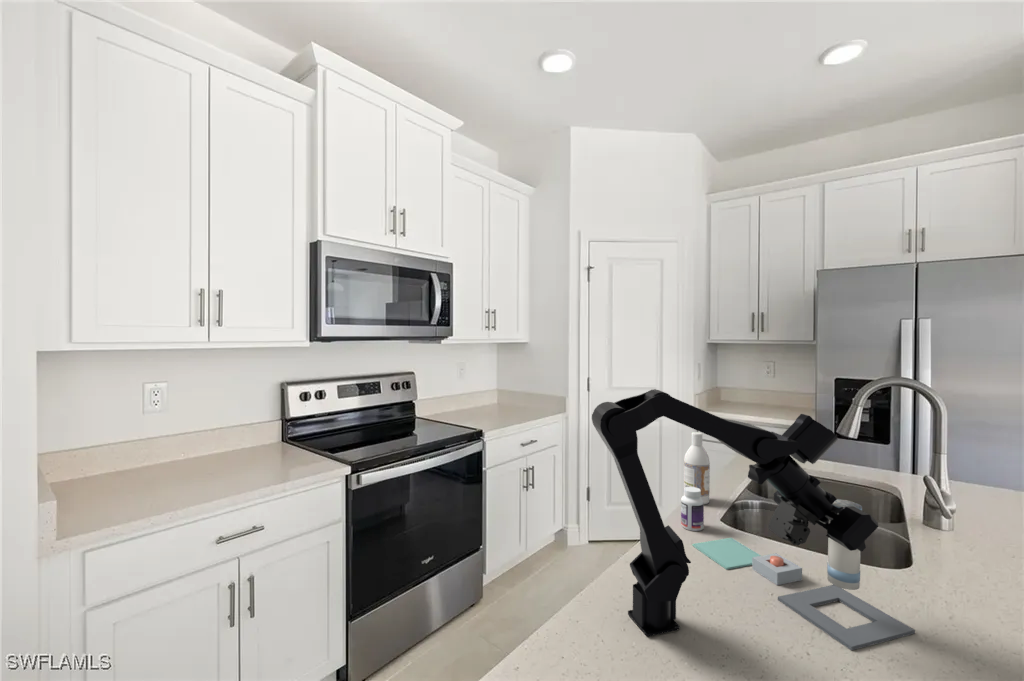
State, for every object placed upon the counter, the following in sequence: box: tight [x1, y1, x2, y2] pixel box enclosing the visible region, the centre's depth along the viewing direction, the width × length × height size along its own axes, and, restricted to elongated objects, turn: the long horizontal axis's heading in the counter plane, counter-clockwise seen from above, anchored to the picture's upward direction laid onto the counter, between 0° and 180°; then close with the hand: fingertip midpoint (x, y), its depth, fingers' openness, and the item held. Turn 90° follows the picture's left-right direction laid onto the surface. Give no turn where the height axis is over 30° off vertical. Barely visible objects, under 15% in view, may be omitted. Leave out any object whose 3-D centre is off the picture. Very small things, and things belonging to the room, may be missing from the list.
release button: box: [770, 556, 784, 567], centre depth 95 cm, size 2×2×2 cm
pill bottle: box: [680, 487, 705, 532], centre depth 117 cm, size 5×5×10 cm
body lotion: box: [683, 431, 711, 505], centre depth 134 cm, size 7×7×20 cm
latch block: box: [751, 552, 803, 586], centre depth 95 cm, size 6×6×2 cm
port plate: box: [777, 584, 916, 651], centre depth 81 cm, size 14×14×1 cm
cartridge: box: [826, 498, 863, 591], centre depth 81 cm, size 5×5×14 cm
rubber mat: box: [691, 537, 762, 571], centre depth 103 cm, size 11×11×1 cm
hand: (851, 542), depth 81 cm, fingers closed on cartridge, 5 cm apart
